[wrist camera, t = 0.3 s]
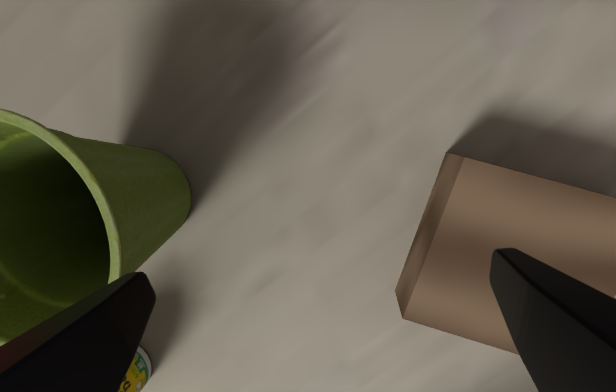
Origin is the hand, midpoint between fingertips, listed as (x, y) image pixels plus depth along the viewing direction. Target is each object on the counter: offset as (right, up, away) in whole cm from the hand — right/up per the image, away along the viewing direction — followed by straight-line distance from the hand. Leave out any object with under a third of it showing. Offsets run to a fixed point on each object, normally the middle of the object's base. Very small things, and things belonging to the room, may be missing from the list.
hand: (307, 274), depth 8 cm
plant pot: (-13, +2, +17) cm, 22 cm away
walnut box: (+13, -2, +15) cm, 20 cm away
